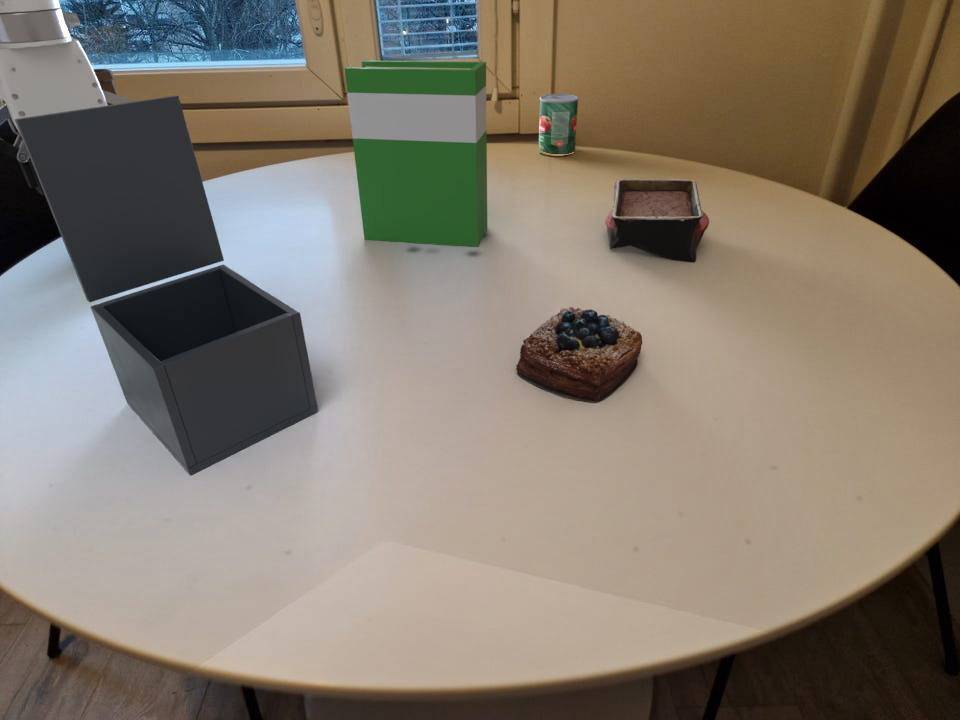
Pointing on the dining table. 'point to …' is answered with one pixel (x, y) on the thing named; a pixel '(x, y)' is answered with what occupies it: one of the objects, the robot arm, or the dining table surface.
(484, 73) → the green cereal box
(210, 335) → the black box
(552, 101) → the canned tomato
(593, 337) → the pastry
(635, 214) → the baking dish
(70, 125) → the box lid
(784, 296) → the dining table surface
